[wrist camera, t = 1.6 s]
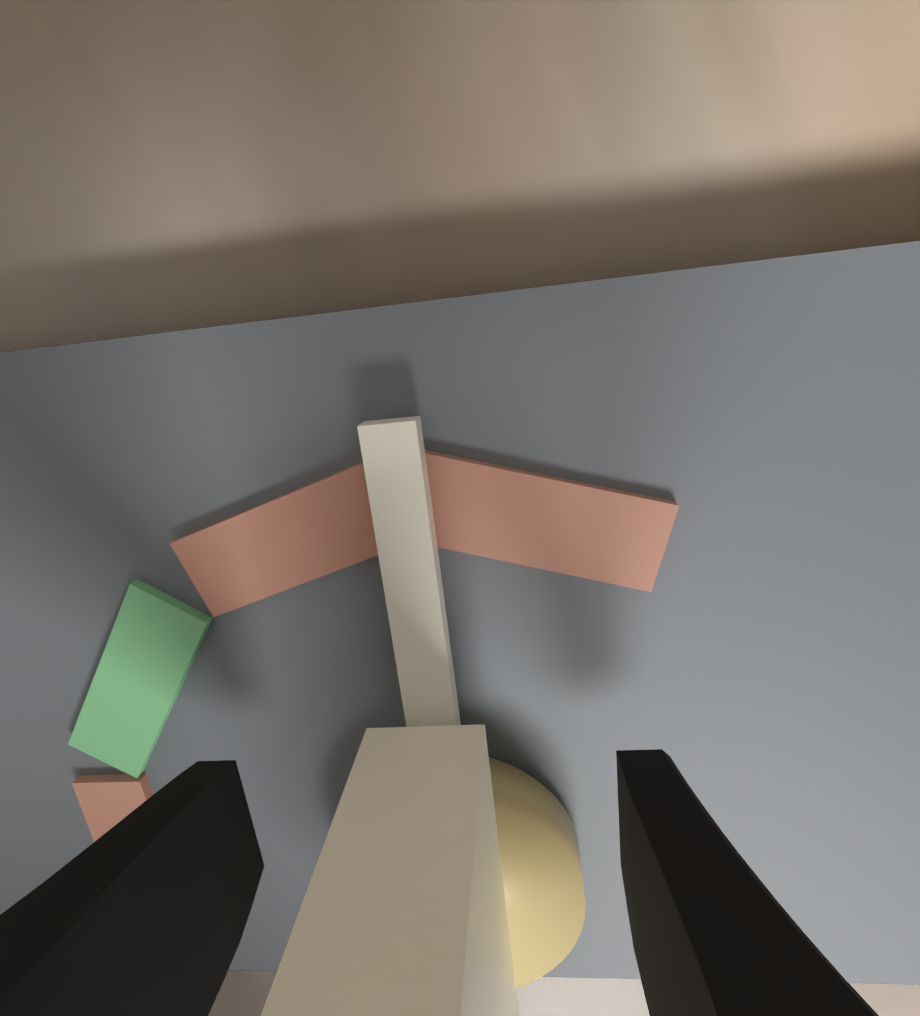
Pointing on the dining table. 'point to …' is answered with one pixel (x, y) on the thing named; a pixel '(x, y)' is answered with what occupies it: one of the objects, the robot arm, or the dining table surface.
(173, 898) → the robot arm
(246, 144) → the dining table surface
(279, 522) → the tuner board
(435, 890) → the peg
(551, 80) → the dining table surface
